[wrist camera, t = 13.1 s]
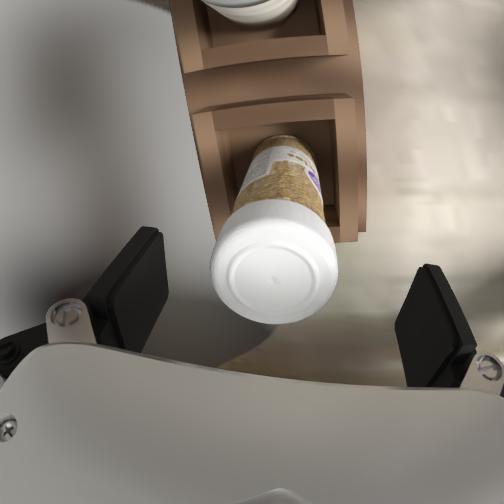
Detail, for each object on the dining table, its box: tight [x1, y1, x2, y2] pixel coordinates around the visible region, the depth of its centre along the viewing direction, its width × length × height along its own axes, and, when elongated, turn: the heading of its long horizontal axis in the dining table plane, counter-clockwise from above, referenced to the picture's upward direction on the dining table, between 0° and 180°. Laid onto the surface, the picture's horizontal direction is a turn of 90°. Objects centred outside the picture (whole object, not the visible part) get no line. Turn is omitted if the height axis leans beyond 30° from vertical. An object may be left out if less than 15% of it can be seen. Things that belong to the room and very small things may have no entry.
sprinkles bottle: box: [210, 134, 338, 324], centre depth 17 cm, size 5×5×14 cm
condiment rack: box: [169, 0, 367, 243], centre depth 15 cm, size 24×12×11 cm, turn 8°
